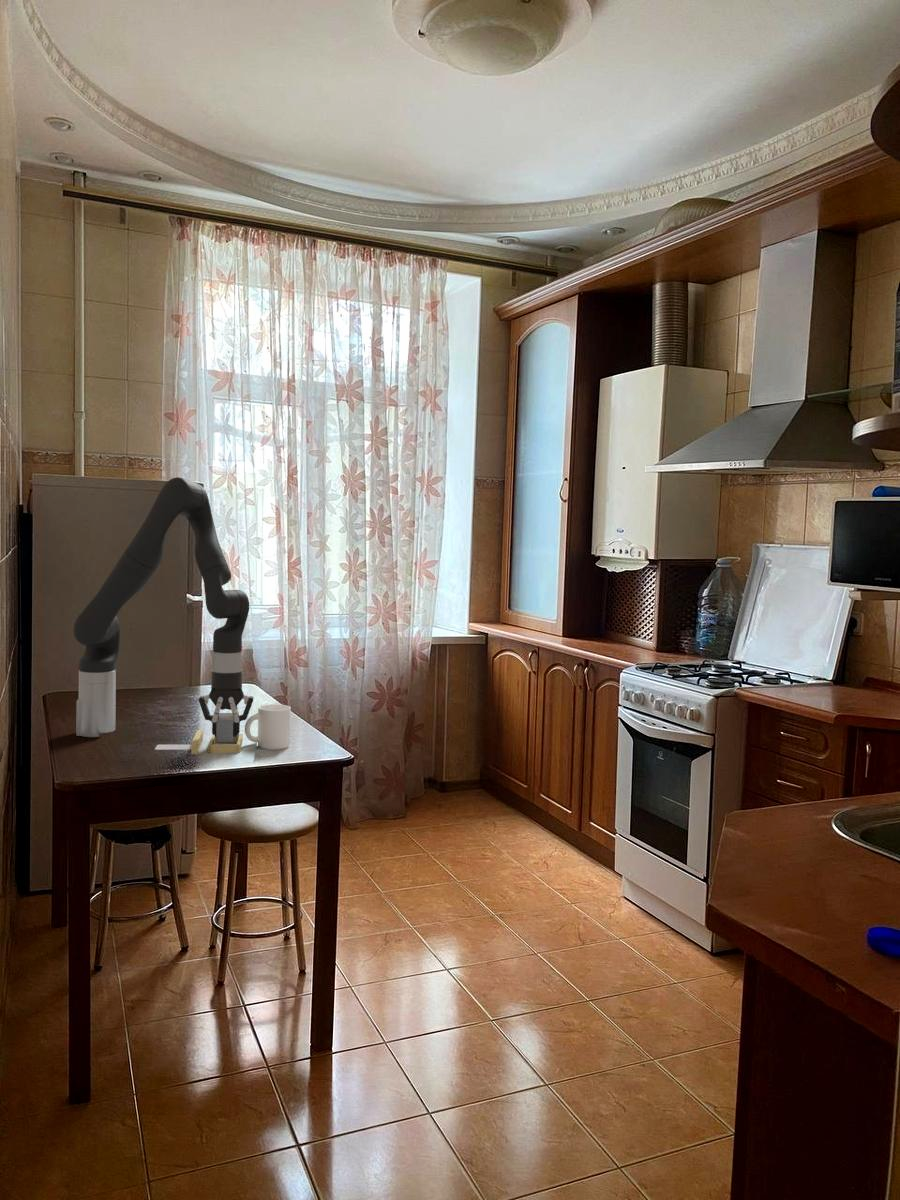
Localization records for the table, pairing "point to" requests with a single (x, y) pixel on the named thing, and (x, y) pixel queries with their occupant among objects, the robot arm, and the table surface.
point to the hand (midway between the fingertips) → (225, 736)
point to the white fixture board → (211, 746)
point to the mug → (271, 726)
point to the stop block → (225, 728)
